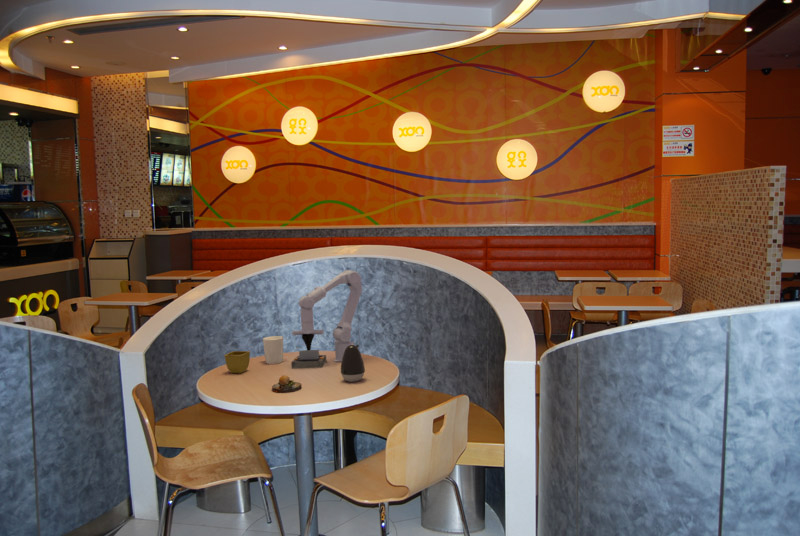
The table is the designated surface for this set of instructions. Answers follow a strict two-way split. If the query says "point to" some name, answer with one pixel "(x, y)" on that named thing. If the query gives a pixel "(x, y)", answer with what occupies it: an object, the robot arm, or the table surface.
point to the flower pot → (237, 361)
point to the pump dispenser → (352, 364)
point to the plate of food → (286, 385)
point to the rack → (309, 362)
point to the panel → (309, 354)
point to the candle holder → (273, 349)
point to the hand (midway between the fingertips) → (308, 349)
